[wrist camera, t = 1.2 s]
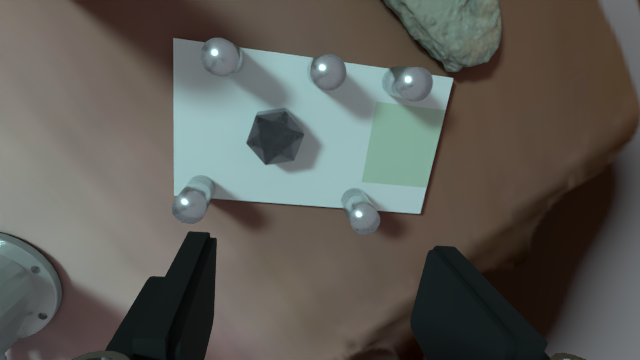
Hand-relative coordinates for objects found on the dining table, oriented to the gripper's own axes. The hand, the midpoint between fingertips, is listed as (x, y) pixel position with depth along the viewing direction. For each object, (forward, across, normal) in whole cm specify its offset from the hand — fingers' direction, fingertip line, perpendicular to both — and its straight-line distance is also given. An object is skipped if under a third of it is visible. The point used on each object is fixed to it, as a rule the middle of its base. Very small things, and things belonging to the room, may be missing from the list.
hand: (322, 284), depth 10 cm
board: (+24, -2, 0) cm, 24 cm away
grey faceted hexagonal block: (+23, +2, 0) cm, 23 cm away
